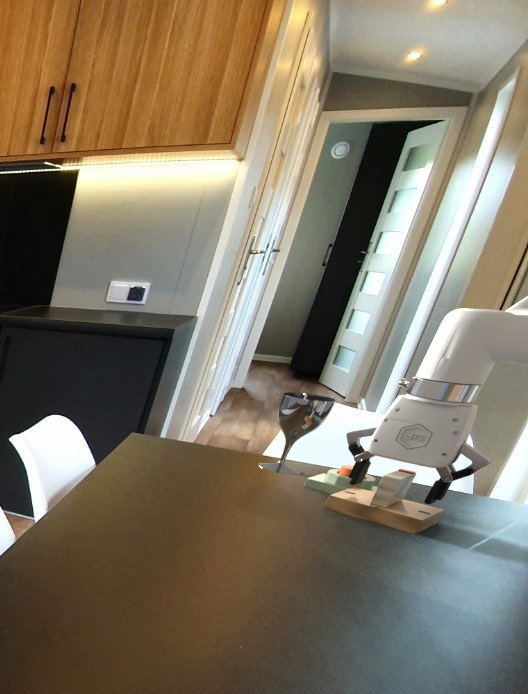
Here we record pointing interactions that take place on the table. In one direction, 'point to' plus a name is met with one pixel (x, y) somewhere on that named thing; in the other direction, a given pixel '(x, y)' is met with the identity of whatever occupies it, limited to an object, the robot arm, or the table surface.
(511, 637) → the table surface
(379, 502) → the holder
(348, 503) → the holder base
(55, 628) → the table surface
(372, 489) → the button box
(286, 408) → the wine glass
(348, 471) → the button
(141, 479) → the table surface
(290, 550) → the table surface
